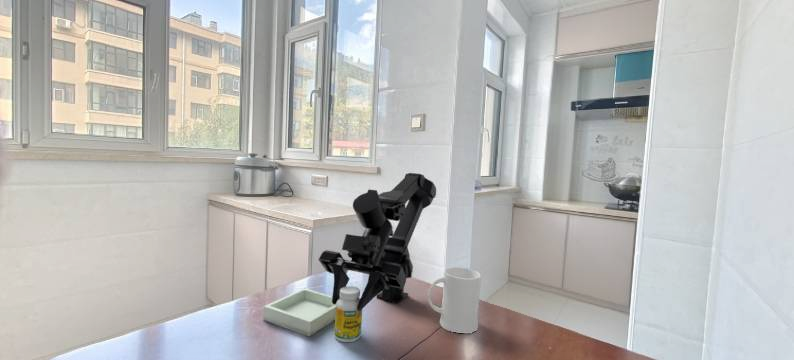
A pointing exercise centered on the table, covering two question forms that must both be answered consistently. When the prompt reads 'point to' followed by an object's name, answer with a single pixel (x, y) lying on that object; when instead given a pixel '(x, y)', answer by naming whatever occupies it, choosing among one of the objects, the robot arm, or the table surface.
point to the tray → (302, 311)
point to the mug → (459, 299)
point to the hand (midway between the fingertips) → (345, 306)
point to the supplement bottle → (348, 315)
